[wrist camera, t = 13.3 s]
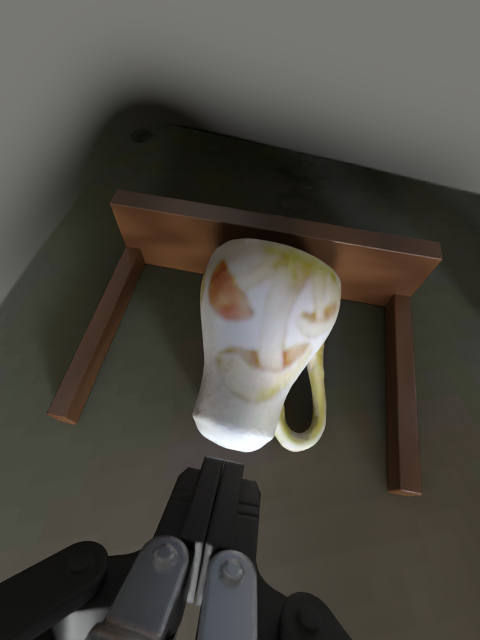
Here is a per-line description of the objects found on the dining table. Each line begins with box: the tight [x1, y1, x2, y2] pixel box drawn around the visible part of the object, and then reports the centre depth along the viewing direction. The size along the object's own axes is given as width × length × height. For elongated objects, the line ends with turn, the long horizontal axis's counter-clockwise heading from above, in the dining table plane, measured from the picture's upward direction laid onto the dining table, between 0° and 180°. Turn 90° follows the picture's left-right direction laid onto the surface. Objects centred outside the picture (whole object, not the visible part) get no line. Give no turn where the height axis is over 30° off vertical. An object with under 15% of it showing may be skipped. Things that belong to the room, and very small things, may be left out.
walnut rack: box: [47, 189, 442, 496], centre depth 18 cm, size 18×12×5 cm
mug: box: [193, 238, 341, 452], centre depth 17 cm, size 8×10×10 cm
